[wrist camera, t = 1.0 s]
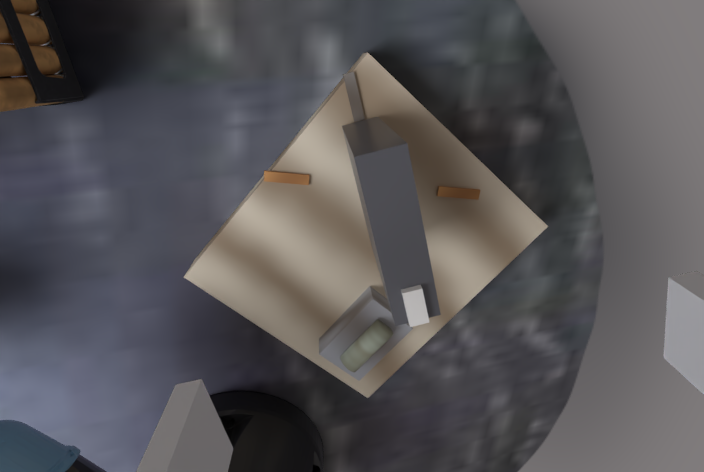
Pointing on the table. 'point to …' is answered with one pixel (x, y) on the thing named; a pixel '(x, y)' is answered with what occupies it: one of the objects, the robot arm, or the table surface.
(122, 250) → the table surface
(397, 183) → the dark grey block
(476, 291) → the instrument base
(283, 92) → the table surface
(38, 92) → the ammunition clip
